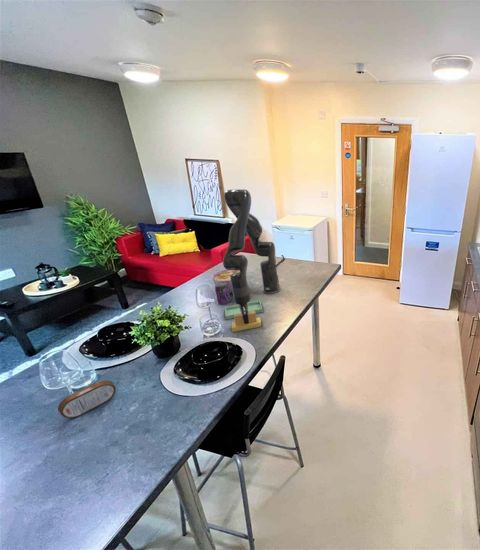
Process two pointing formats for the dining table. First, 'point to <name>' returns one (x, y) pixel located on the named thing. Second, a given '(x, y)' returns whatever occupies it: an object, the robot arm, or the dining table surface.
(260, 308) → the tray
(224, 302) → the beverage can
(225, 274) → the bowl of food
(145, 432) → the dining table surface
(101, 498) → the dining table surface
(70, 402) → the tin
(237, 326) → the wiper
